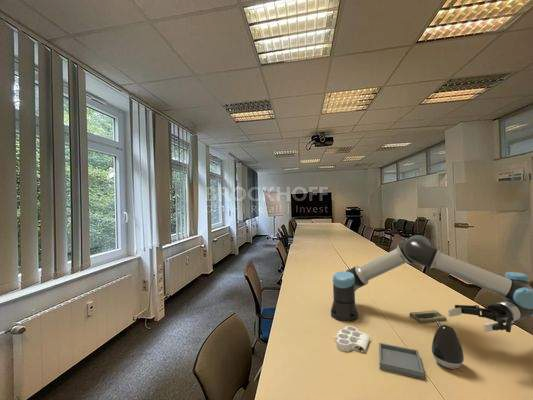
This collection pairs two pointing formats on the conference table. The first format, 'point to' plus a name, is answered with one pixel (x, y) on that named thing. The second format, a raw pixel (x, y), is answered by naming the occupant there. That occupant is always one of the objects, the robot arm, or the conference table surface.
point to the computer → (427, 316)
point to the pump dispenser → (447, 347)
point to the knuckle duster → (351, 339)
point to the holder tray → (400, 360)
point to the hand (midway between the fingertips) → (465, 320)
